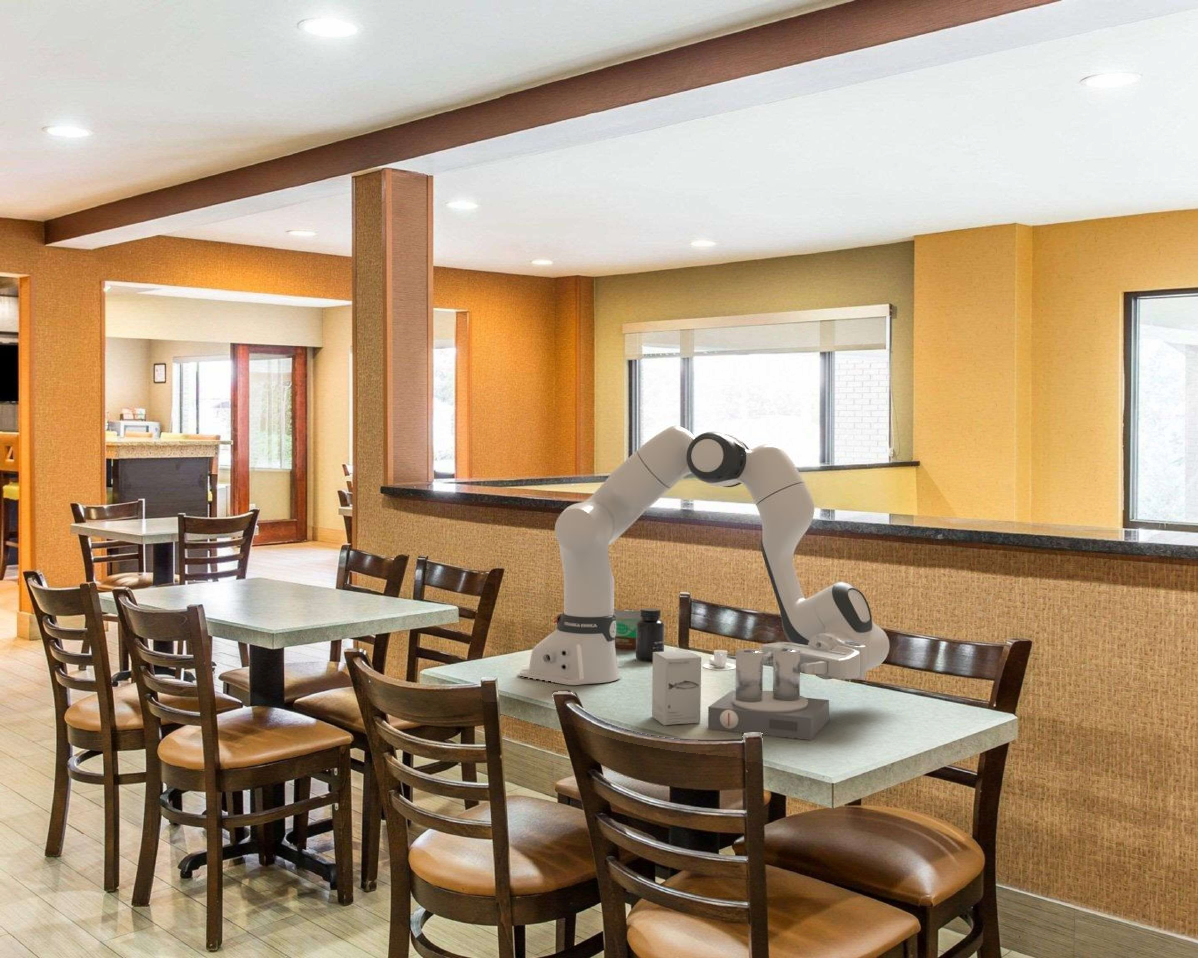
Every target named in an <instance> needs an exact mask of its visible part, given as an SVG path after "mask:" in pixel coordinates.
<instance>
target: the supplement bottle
mask: <svg viewBox="0 0 1198 958" xmlns="http://www.w3.org/2000/svg"><path fill="white" fill-rule="evenodd" d="M640 611H641V615H640V617H641V620H639V621H638V622H637V624H636V650H635V659H636V660H637V661H642V662H653V652H665V623H664V621H662V620H661V619H660V618H661V617H662V616H661V609H659V608H652V607H650V608H649V607H646V608H641V609H640Z"/></svg>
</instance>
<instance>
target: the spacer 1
mask: <svg viewBox="0 0 1198 958" xmlns="http://www.w3.org/2000/svg"><path fill="white" fill-rule="evenodd" d="M735 665H736V668H735V689H734V691H735V699H736V700H737V701H741V702H760V701H762V697H763V691H764V690H763V689H764V688H763V687H764V686H763V683H764V682H763V681H764V678H763V676H764V665H763V651H762V650H761V649H756V648H740V649H739V648H738V649H736V650H735Z"/></svg>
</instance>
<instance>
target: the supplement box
mask: <svg viewBox="0 0 1198 958" xmlns="http://www.w3.org/2000/svg"><path fill="white" fill-rule="evenodd" d="M651 682H652V684H651V685H652V688H651V690H652V691H651V700H652V701H651V703H652V704H651V716H652V718H654V719H655V720H656V721H658V722H659V723H660V724H661V725H663V726H664V727H665V726H668V725H685V724H700V723H701V707H702V706H701V701H702V700H701V698H702V697H701V694H702V691H701V690H702V685H701V684H702V657H701V656H700V655H698V654H696V653H694V652H691V651H690V650H671V651H664V652H653V661H652V681H651Z"/></svg>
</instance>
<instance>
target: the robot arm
mask: <svg viewBox="0 0 1198 958" xmlns="http://www.w3.org/2000/svg"><path fill="white" fill-rule="evenodd" d="M691 474H692V475H693V476H694V477H695V478H696V479H698V480H699V481H701V482H704V483H706V484H708V485H711V486H714V487H724V488H733V487H738V486H739V485H741V484H742V485H743V486H744V487H745V488H746V489H747V490H748V491H749V492H748V493H749V494H750V496H751V497H752V499H753V502H754V503H755V506H756V508H757V511H758V513H759V517H760V521H761V527H762V528H761V529H762V534H761V537H760V542H759V543H760V549H761V553H762V558H763V561H764V565H765V568H766V571H767V573H768V577H769V580H770V583H771V586H772V589H773V592H774V593H773V594H774V596H775V598H776V601H777V606H778V608H779V612H780V617H781V618H780V619H781V624H782V626H781V627H782V630H783V633H784V636H785V637H786V639H787V640H788V642H787V641H781V642H780V641H779V642H771V643H764V644H762V645H761V648H760V650H762V651H763V666H766V667H769V666H773V649H775V648H795V649H799V650H800V674H804V675H805V674H806V675H812V674H814V675H815V676H816V677H818V678H819V679H823V680H833V679H834V680H838V679H839V680H857V681H858V680H859V681H860V680H864V679H866V675H867V672H868V671H869V670H872V669H875V668H877V667H879V666H880V665H881V664H882V663H883V662H884V661H885V660H886V658H887V657H888V654H889V651H890V639H889V637H888V636H887V635H888V634H887V633H886V632H885V630H883V629H882V628H881V627H880V626H878V625H877V624H876V623H875V622H874V620H873V617H872V612H871V608H870V605H869V603H868V600H867V598H866V597H865V595H864V594H863V593H862V592H861V590H859V589H858V588H857V587H855V586H853V585H852V584H850V583H847V582H844V581H837V582H835V583H833V584H831V585H829V586H827V587H826V588H825V587H824V589H821V590H819V591H818V592H817V593H815V594H813V595H811V596H809V597H808V598H806V597H805V595H804V594H803V593H804V592H803V590H802V588H801V584H800V581H799V577H798V574H797V572H796V569H795V566H794V554H795V550H796V548H797V546H798V544H799V542H800V541H801V539H803V536H804V535H805V534H806V533H807V530H808V529H809V528H810V526H811V524H812V521H813V518H814V515H815V504H814V500H813V497H812V495H811V492H810V490H809V489H808V486H807V485H806V483H805V482H806V481H805V480H804V479H803V477H802V475H801V474H800V472H799V470H798V468H797V467H796V465H795V464H794V462H793V460H792V459H791V458H790V457H789V455H788V453H786V452H785V450H784V449H783V448H782V447H781V446H779V445H777V444H773V443H766V444H760V445H758V446H757V447H754V448H752V449H750V448H749V447H748V446H747V445H746V443H744V442H742V441H741V440H740V439H738V438H737V437H734V436H733V435H730V434H725V433H721V432H718V431H707V432H703V433H701V434H699V435H697V436H695V435H694V434H693V433H692V432H691V431H690V430H688V429H687V428H684V427H683V426H680V425H673V426H669V427H668V428H665V429H664V430H662V431H661V432H659V433H657V434H656V435H654V436H653V437H652V438H651V439H649V440H648V441H646V442H645V443H644V444H642V445H641V446H640V447H639V448H638V449H637V450H635V452H634V453H632V454H631V455H630V456H629V457H628V458H626V460H625V461H623V463H621V464H620V465H619V466H617V467H616V469H614V470H613V471H612V472H611V473H610V474H609V476H608V477H607V478H606V480H605V481H604V482H603V483H602V484H601V485H600V487H599V488H598V489H596V491H595V492H594V493H592V494H591V496H589V497H588V498H587V499H585V500H584V501H582V502H577V503H573V504H571V505H569V506H567V507H566V508H565V509H564V510H563V511H562V512H561V513H560V515H559V516H558V517H557V519H556V521H555V523H554V524H555V525H554V535H555V538H556V540H557V542H558V548H559V554H560V561H561V566H562V573H563V596H564V597H563V612H562V613H560V614H559V615H557V616H555V617H553V624H556V629H555V630H554V631H553V632H551V633H550V634H548V635H547V636H546V637H545V638H543V639H542V640H541V641H540V642H538V643H537V644H535V646H534V647H533V649H532V651H531V655H530V660H529V665H527V666H525V667H522V669H520V670H519V675H520V676H525V677H528V678H527V679H530V678H533V679H532V680H536V679H540V680H539V681H542V680H545V681H544V682H548V681H551V683H554V682H555V683H557V684H562V685H568V686H579V685H588V684H601V683H609V682H613V681H616V680H617V681H618V680H619V679H621V676H622V675H621V673H620V669H619V668H620V667H619V664H618V658H617V649H615V638H616V614H615V613H614V609H615V577H614V574H613V571H612V565H611V561H610V560H611V559H610V553H609V546H611V545H612V544H613V543H614V542H616V541H617V540H618V538H620V537H621V536H622V535H623V534H624V533H625V532H626V531H627V530H628V529H629V528H630V527H631V526H632V525H633V524H634V523H635V522H636V521H637V520H638V519H639V518H640V517H641V516H642V515H643V514H644V513H645V512H646V511H647V510H648V509H649V508H650V507H651V506H653V505H654V503H656V502H657V501H658V500H660V499H661V498H662V497H663V496H664V495H665V494H666V493H667V492H669V491H670V490H671V489H672V488H673V487H674V486H676V484H678V482H680V481H681V480H682V479H683V478H685V477H686V476H689V475H691ZM520 676H519V677H520Z"/></svg>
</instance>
